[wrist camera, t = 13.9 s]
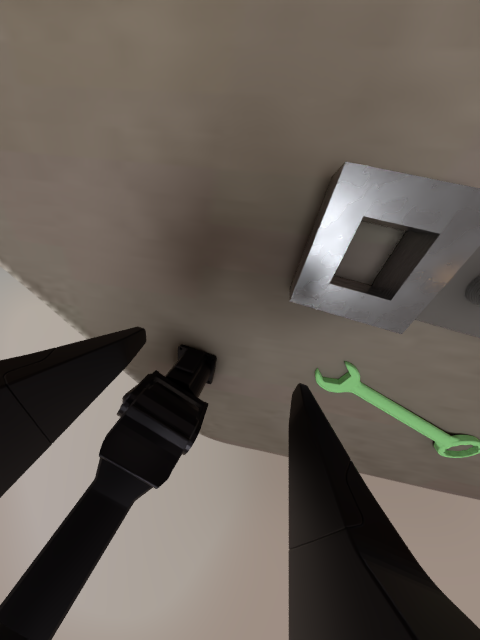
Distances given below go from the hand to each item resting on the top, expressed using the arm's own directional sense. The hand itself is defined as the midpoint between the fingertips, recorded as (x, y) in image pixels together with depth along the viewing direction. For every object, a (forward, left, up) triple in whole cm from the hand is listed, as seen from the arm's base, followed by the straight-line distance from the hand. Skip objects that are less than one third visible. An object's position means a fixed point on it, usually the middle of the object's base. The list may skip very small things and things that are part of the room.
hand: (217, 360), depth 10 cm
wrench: (-11, -23, -14) cm, 29 cm away
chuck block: (+6, -9, -13) cm, 17 cm away
